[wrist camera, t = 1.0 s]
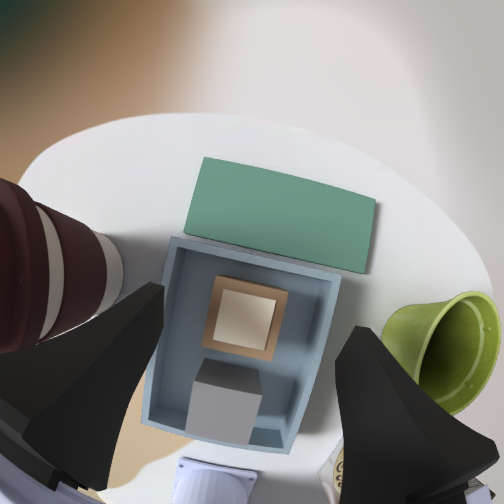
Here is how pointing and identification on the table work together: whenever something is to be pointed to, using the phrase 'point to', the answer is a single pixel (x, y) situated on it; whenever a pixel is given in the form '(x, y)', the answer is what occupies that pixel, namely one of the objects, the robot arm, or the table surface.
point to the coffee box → (334, 471)
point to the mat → (281, 215)
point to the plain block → (224, 402)
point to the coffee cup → (49, 271)
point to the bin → (271, 372)
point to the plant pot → (447, 346)
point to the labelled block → (244, 317)
